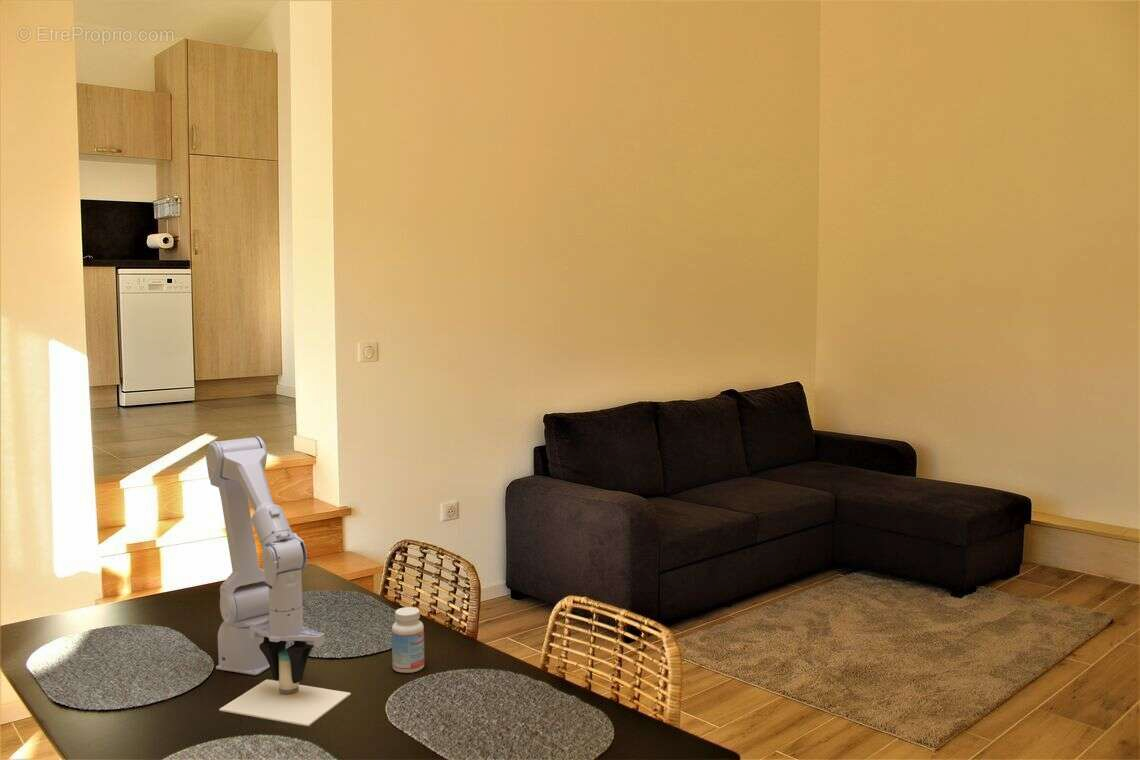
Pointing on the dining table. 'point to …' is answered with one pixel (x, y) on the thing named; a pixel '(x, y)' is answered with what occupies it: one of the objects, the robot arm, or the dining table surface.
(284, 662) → the green lidded jar
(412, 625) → the pill bottle
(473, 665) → the dining table surface
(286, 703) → the paper
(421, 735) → the dining table surface
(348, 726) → the dining table surface
